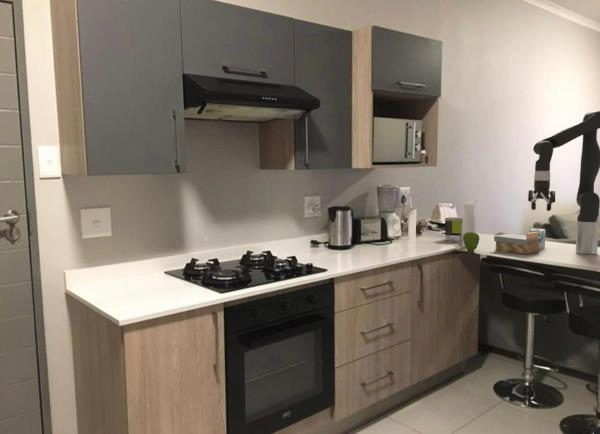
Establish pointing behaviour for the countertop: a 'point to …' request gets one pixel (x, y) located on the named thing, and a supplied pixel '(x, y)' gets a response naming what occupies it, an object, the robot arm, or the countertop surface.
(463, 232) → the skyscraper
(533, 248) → the wooden box
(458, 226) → the tea box
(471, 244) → the green faceted ovoid
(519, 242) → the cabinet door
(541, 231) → the light bulb box
